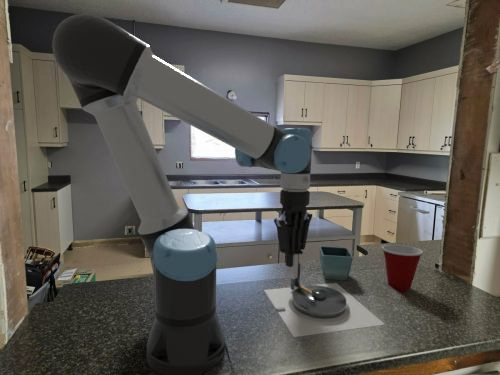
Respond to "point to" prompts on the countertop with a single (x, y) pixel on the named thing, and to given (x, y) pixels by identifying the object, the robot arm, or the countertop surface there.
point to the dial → (317, 300)
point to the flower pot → (335, 262)
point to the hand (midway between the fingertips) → (291, 276)
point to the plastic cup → (401, 265)
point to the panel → (309, 325)
